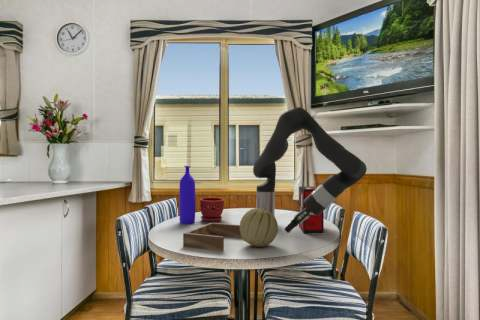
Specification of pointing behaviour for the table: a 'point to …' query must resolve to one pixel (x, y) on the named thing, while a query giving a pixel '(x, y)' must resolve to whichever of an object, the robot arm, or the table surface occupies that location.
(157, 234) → the table surface
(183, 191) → the bottle
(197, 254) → the table surface
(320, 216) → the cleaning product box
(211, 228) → the wooden serving tray
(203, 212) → the plant pot
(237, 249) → the table surface
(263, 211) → the cantaloupe
